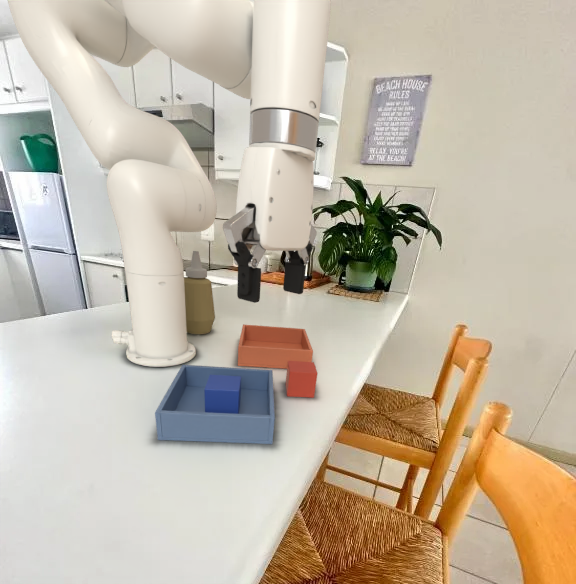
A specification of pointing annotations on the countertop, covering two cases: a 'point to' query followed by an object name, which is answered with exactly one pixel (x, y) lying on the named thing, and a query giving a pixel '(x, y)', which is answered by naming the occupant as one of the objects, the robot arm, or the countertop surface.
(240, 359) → the red bin
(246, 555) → the countertop surface
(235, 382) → the blue block
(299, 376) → the red block
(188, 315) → the squeeze bottle
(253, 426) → the blue bin
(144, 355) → the robot arm
